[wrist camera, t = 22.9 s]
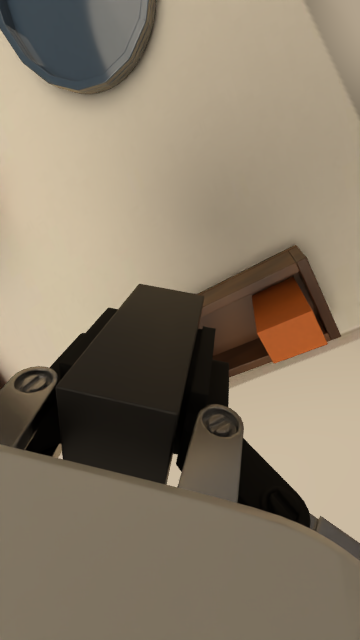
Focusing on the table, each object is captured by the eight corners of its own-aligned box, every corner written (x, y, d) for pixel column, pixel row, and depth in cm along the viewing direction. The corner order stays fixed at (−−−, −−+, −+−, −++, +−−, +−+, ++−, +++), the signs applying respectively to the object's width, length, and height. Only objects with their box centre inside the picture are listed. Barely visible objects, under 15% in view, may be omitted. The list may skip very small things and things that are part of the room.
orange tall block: (306, 303, 26) (328, 344, 20) (264, 321, 28) (273, 364, 22) (293, 276, 25) (312, 310, 19) (251, 295, 27) (256, 333, 21)
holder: (295, 244, 25) (306, 257, 21) (327, 314, 27) (341, 336, 24) (108, 338, 33) (93, 359, 29) (145, 386, 35) (136, 411, 32)
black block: (204, 295, 13) (178, 414, 7) (191, 366, 15) (161, 510, 8) (139, 283, 13) (54, 386, 7) (134, 355, 15) (64, 486, 9)
